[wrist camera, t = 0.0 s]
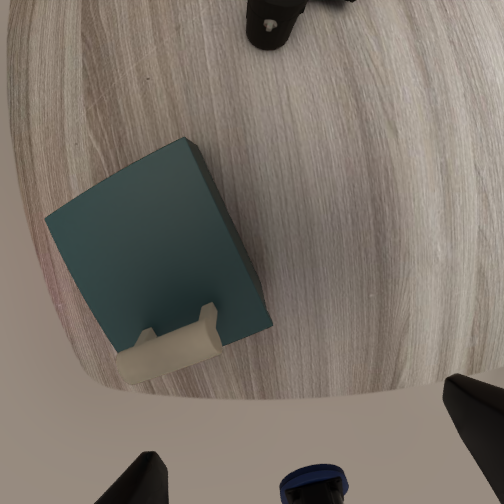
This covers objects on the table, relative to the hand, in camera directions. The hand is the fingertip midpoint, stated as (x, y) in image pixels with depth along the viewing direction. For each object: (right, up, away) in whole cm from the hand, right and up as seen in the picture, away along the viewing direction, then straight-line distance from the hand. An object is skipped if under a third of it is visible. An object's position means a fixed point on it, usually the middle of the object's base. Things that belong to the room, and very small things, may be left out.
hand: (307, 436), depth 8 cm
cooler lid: (-7, +4, +10) cm, 13 cm away
